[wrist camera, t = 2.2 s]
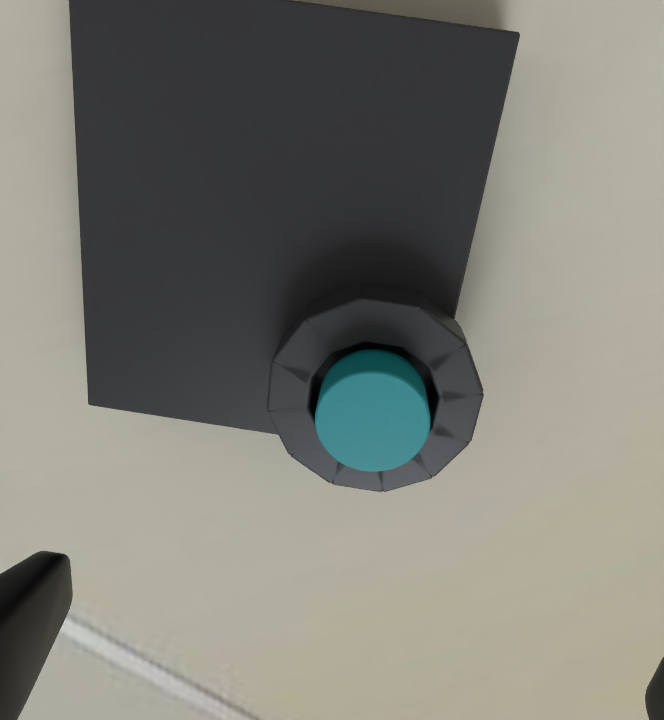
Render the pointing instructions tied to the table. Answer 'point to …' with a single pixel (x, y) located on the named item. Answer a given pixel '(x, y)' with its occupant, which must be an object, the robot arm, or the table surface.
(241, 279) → the button base
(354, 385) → the button
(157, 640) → the table surface
